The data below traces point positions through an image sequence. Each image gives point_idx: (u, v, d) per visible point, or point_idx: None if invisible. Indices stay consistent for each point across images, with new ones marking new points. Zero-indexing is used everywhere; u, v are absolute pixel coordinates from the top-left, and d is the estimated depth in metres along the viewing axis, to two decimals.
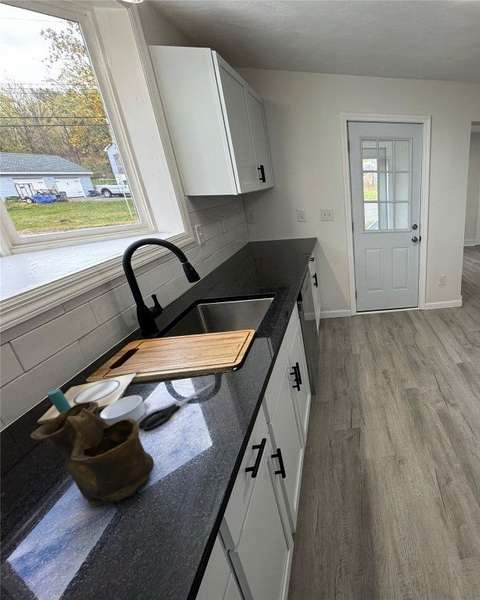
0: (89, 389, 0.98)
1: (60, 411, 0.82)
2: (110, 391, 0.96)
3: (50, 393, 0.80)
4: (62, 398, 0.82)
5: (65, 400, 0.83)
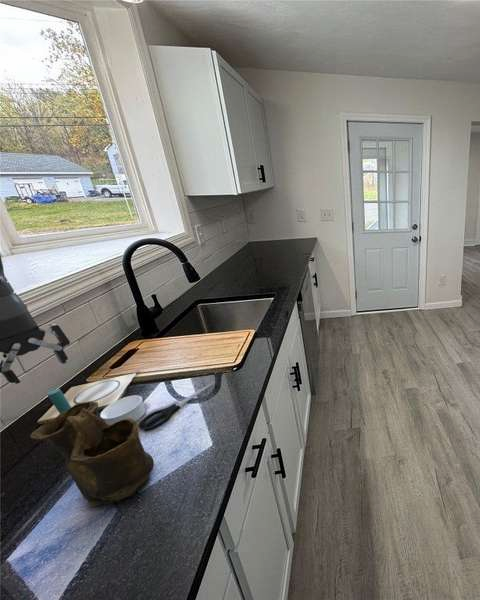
0: (89, 389, 0.98)
1: (60, 411, 0.82)
2: (110, 391, 0.96)
3: (50, 393, 0.80)
4: (62, 398, 0.82)
5: (65, 400, 0.83)
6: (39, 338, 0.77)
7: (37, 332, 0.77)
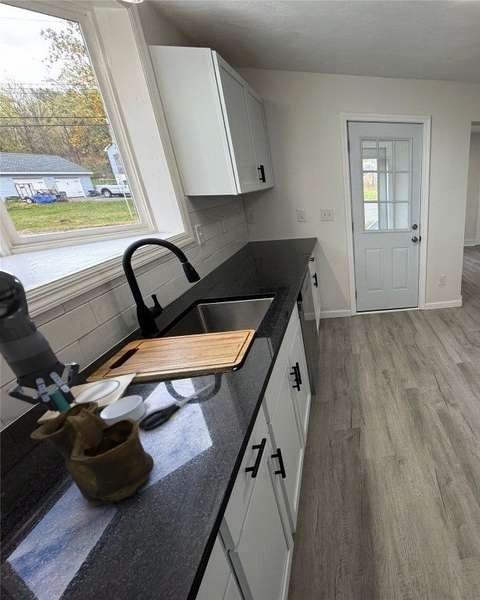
0: (89, 389, 0.98)
1: (60, 411, 0.82)
2: (110, 391, 0.96)
3: (50, 393, 0.80)
4: (62, 398, 0.82)
5: (65, 400, 0.83)
6: (60, 372, 0.81)
7: (58, 366, 0.81)
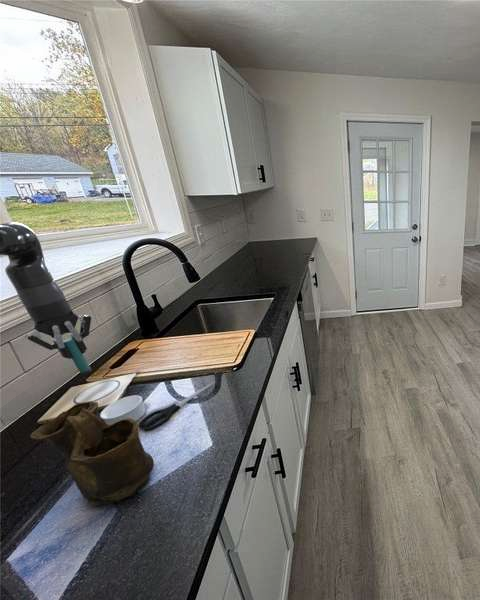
0: (89, 389, 0.98)
1: (74, 359, 0.89)
2: (110, 391, 0.96)
3: (64, 341, 0.87)
4: (75, 346, 0.89)
5: (78, 349, 0.89)
6: (73, 321, 0.88)
7: (71, 316, 0.87)
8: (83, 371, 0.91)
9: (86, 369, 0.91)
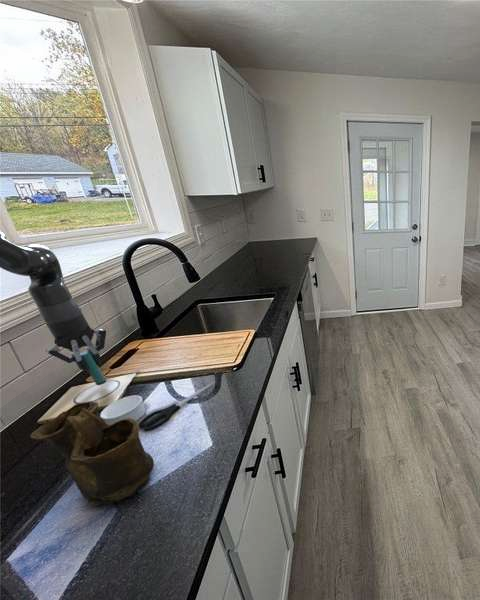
0: (89, 389, 0.98)
1: (90, 370, 0.94)
2: (110, 391, 0.96)
3: (82, 354, 0.92)
4: (92, 359, 0.94)
5: (94, 361, 0.95)
6: (90, 336, 0.93)
7: (88, 331, 0.92)
8: (99, 382, 0.96)
9: (101, 380, 0.96)
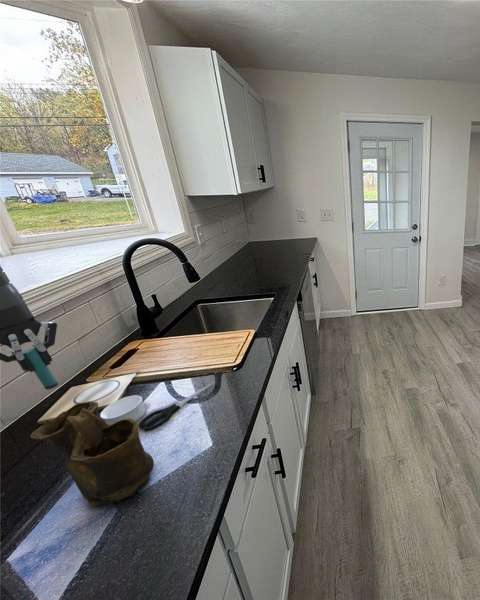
0: (89, 389, 0.98)
1: (36, 372, 0.78)
2: (110, 391, 0.96)
3: (25, 352, 0.76)
4: (38, 358, 0.77)
5: (42, 360, 0.78)
6: (35, 329, 0.76)
7: (33, 323, 0.76)
8: (48, 385, 0.80)
9: (51, 383, 0.80)
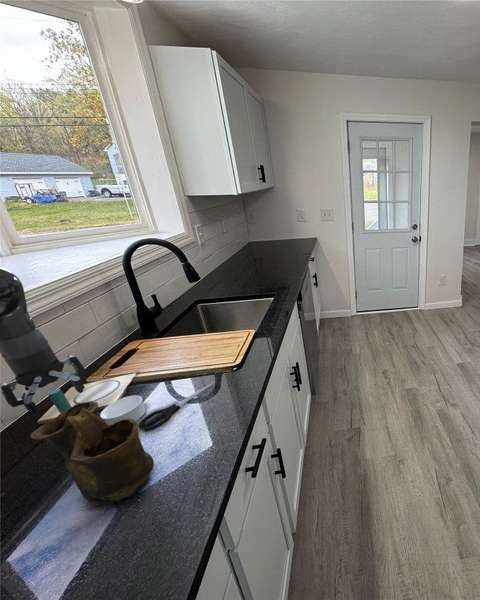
0: (89, 389, 0.98)
1: (61, 411, 0.82)
2: (110, 391, 0.96)
3: (51, 393, 0.81)
4: (63, 398, 0.82)
5: (66, 400, 0.83)
6: (58, 370, 0.81)
7: (56, 365, 0.80)
8: None
9: None
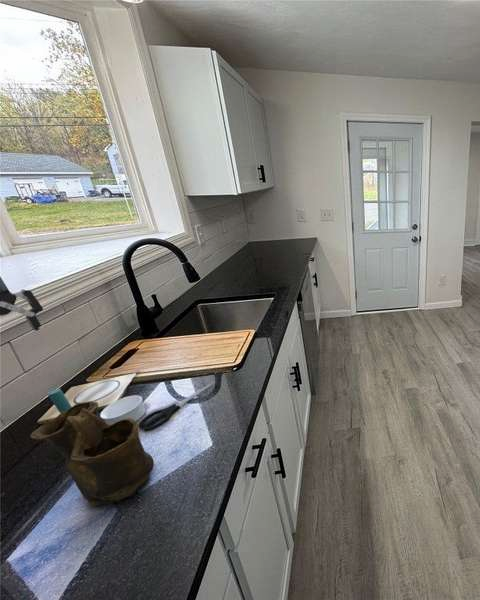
0: (89, 389, 0.98)
1: (61, 411, 0.82)
2: (110, 391, 0.96)
3: (51, 393, 0.81)
4: (63, 398, 0.82)
5: (66, 400, 0.83)
6: (10, 302, 0.76)
7: (7, 296, 0.75)
8: None
9: None
